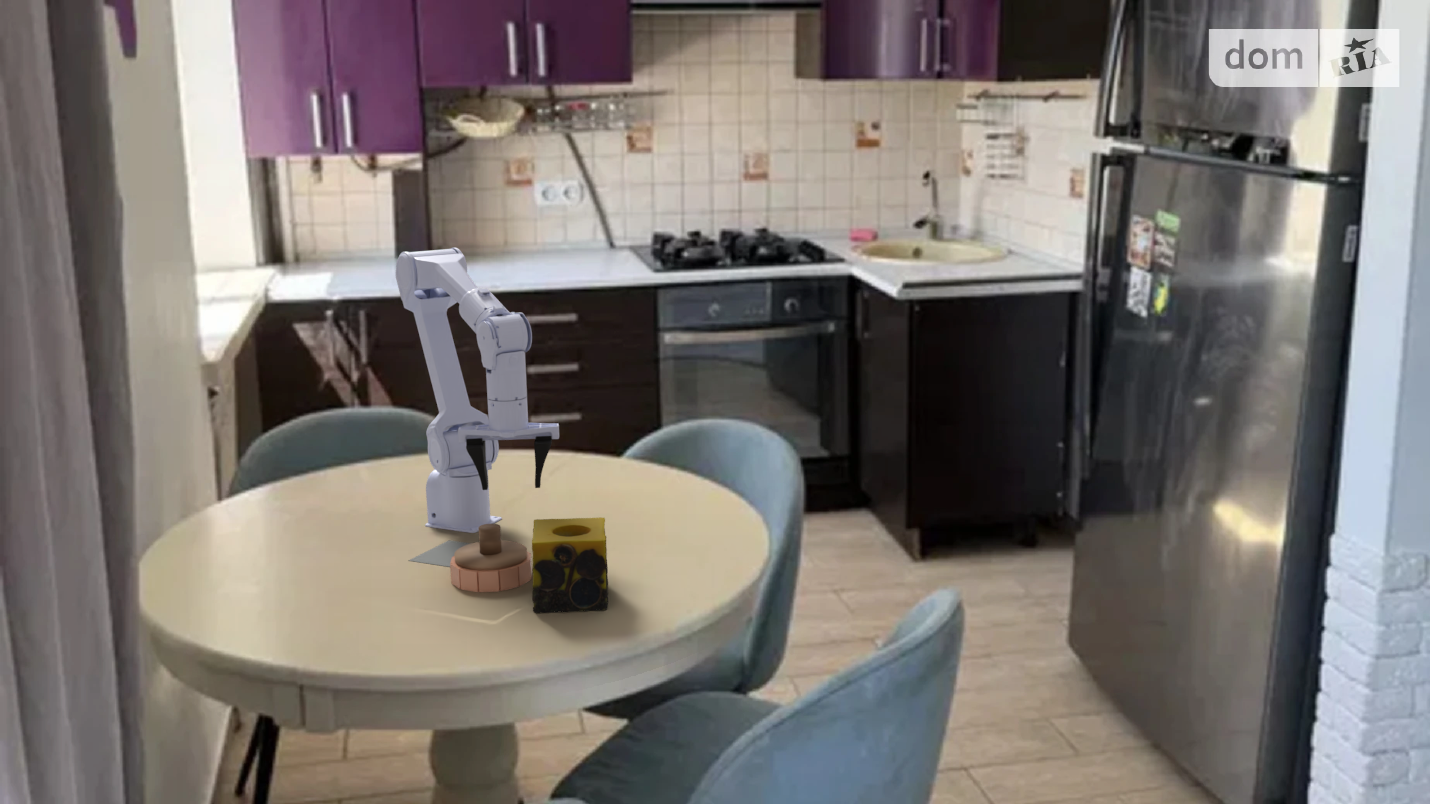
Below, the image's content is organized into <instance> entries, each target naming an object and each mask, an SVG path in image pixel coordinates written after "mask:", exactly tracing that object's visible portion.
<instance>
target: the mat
mask: <svg viewBox="0 0 1430 804" xmlns="http://www.w3.org/2000/svg"><path fill="white" fill-rule="evenodd" d="M472 543H473V542H470V543H469V542H463V541H457V540H452V539H451V540H450V539H449V540H447V541H444V542H442V543H441V544H438V545H436V546H435V547H433V548H430V549H428V550H427V551H425V552H422V553H420V554H419V555H416V556H415V557H412V558H410V559H409V560H408V562H415V563H418V564H419V563H421V564H428V565H432V566H434V565H435V566H440V567H445V568H446V567H447V568H450V562H451V559H452V557H453V556H455V555H454V554H455V552H456V550H457V549H459V548H461V547H463V546H465V545H468V544H472Z"/></svg>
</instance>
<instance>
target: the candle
mask: <svg viewBox="0 0 1430 804" xmlns="http://www.w3.org/2000/svg"><path fill="white" fill-rule="evenodd" d="M605 523H606V518H605V517H599V516H598V517H581V518H580V517H578V518H577V517H575V518H572V517H571V518H546V519H544V518H543V519H540V518H539V519H538V518H537V519H533V529H532V533H533V534H532V539H531V550H532V551H531V552H532V595H531V598H532V603H533V607H532V612H533V613H536V614H544V613H546V614H549V613H550V614H551V613H576V612H587V611H589V612H590V611H606V610H607V609H608V606H609V590H608V589H609V587H608V586H609V578H608V574H609V573H608V569H609V568H608V560H607V558H608V556H607V554H608V553H607V551H608V549H607V535H606V528H605Z"/></svg>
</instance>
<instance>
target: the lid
mask: <svg viewBox="0 0 1430 804" xmlns="http://www.w3.org/2000/svg"><path fill="white" fill-rule="evenodd" d="M501 531H502V530H501V525H500V524H497V523H494V524H484V525H481V526H479V531H478V540H479V541H476V542H471V543H472V544H468V545H465V546H463V547H461V548H459V549H457V550H456V552H455V554H454V555H455V563H456V564H457V565H458V566H460V567H462V568H465V569H470V570H481V571H487V570H499V569H505V568H509V567H513V566H516V565H518V564H521V563H522V562H524V561H525V560H526V559H527V551H528V549H527V546H525V544H522V543H520V542H517V541H511V540H503V539H502V533H501Z"/></svg>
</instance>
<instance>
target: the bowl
mask: <svg viewBox="0 0 1430 804" xmlns="http://www.w3.org/2000/svg"><path fill="white" fill-rule="evenodd" d="M449 568H450V583H451V584H452V586H455V587H456V588H458V589H459V590H463V591H468V592H475V593H489V592H490V593H492V592H493V593H494V592H503V591H508V590H511V589H515V588H520V587H521V586H523V585H526V583H528V582H530V581H531V580H532V577H533V571H532V568H533V563H532V553H531V552H530V551H528V550H527V559H526V560H525V561H524V562H522V563H521V564H518V565H516V566H513V567H509V568H505V569H499V570H487V571H481V570H470V569H465V568H462V567H460V566H458V565H457V564H456V563H455V556H453V557H452V559H451V562H450V567H449Z"/></svg>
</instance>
